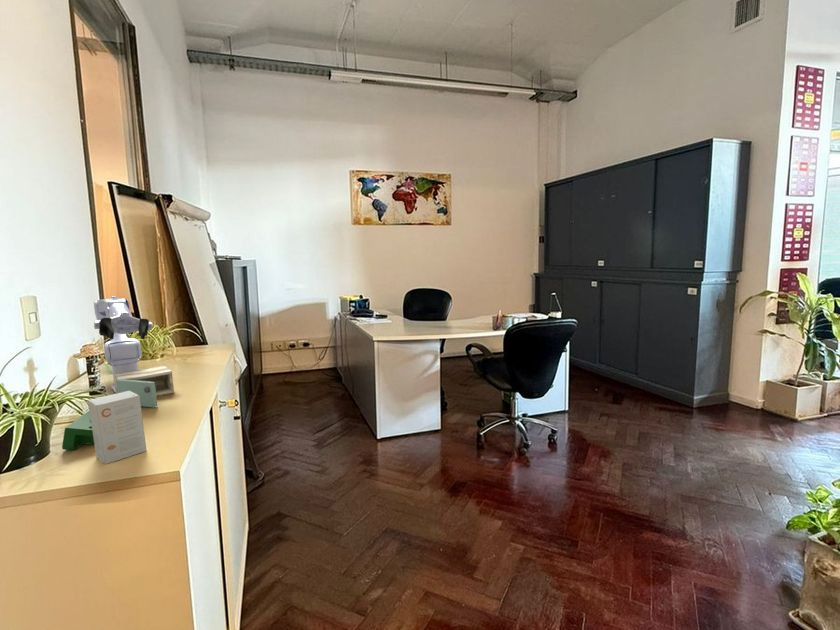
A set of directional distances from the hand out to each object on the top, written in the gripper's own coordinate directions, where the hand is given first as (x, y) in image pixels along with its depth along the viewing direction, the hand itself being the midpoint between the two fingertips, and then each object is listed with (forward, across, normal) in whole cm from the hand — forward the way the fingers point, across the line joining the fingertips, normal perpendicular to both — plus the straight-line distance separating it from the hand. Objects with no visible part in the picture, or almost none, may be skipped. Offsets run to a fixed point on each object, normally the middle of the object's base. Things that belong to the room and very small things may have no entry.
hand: (128, 335), depth 128 cm
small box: (+42, -6, +10) cm, 44 cm away
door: (+8, +3, +19) cm, 20 cm away
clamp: (+29, -10, +15) cm, 34 cm away
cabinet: (-3, +7, +22) cm, 23 cm away
